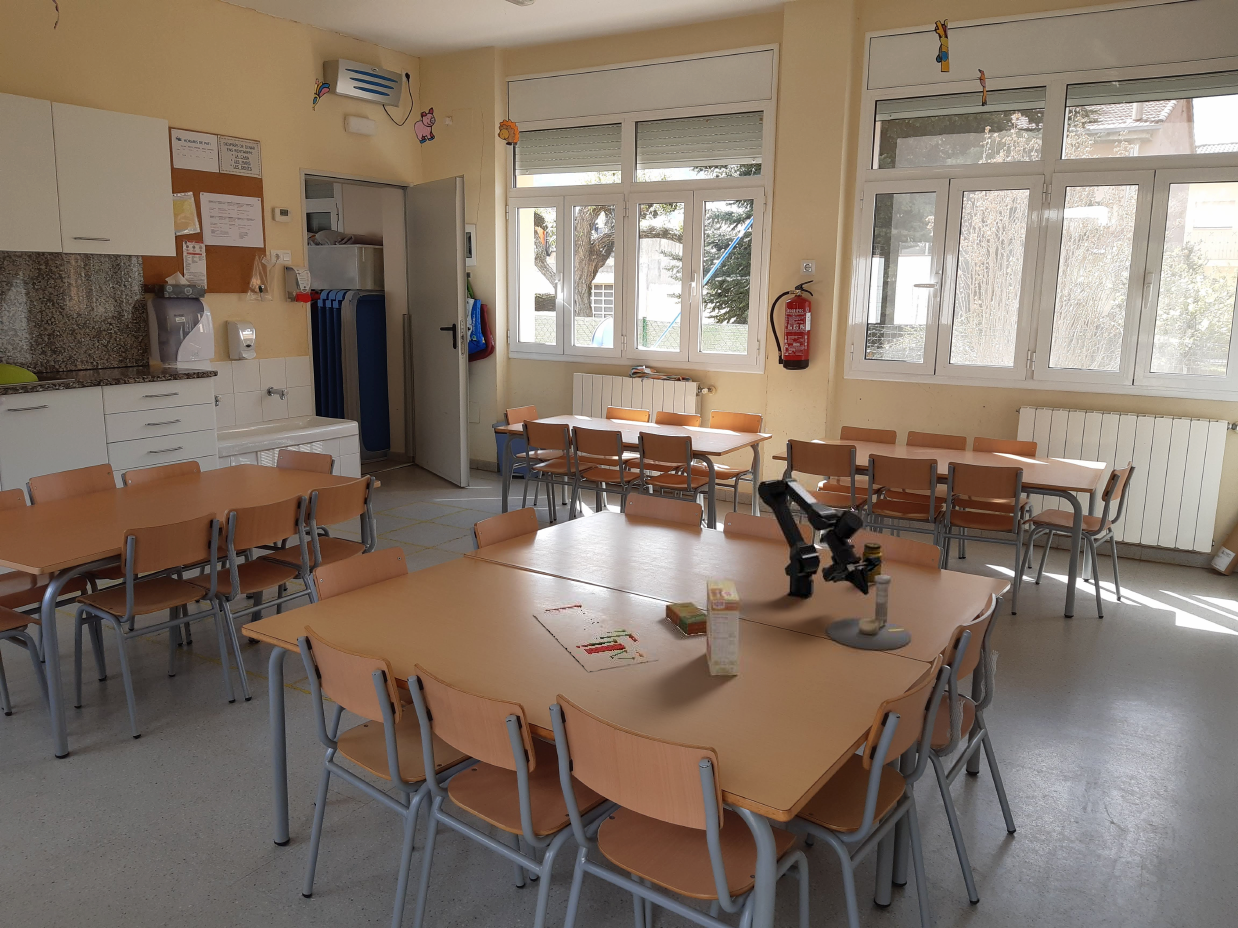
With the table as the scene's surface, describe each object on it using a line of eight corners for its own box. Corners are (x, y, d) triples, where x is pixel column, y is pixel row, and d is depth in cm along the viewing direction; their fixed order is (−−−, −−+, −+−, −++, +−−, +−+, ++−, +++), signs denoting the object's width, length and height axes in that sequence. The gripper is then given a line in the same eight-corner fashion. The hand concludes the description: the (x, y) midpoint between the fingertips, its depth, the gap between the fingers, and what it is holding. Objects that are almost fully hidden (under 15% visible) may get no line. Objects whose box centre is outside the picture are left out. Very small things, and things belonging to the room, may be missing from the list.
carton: (691, 615, 260) (691, 601, 259) (714, 633, 245) (714, 619, 244) (665, 618, 257) (665, 603, 256) (686, 637, 242) (686, 622, 242)
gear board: (659, 652, 226) (588, 665, 219) (659, 661, 226) (588, 674, 219) (594, 599, 267) (532, 608, 259) (594, 607, 267) (533, 616, 260)
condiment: (886, 580, 289) (888, 545, 287) (868, 585, 285) (870, 549, 282) (868, 575, 295) (870, 540, 293) (851, 579, 291) (852, 544, 288)
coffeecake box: (705, 652, 231) (706, 579, 228) (732, 652, 231) (734, 580, 227) (709, 675, 216) (710, 599, 213) (738, 675, 216) (740, 599, 213)
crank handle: (873, 635, 239) (875, 588, 236) (856, 631, 242) (857, 584, 240) (892, 622, 248) (894, 577, 246) (875, 618, 252) (877, 573, 249)
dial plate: (816, 640, 238) (816, 637, 238) (839, 615, 257) (840, 613, 257) (900, 655, 228) (900, 653, 228) (918, 628, 246) (918, 626, 246)
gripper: (848, 557, 270) (874, 602, 262) (802, 566, 261) (827, 613, 253) (869, 537, 262) (896, 583, 254) (821, 546, 252) (848, 594, 245)
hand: (866, 594), depth 252 cm, fingers closed
